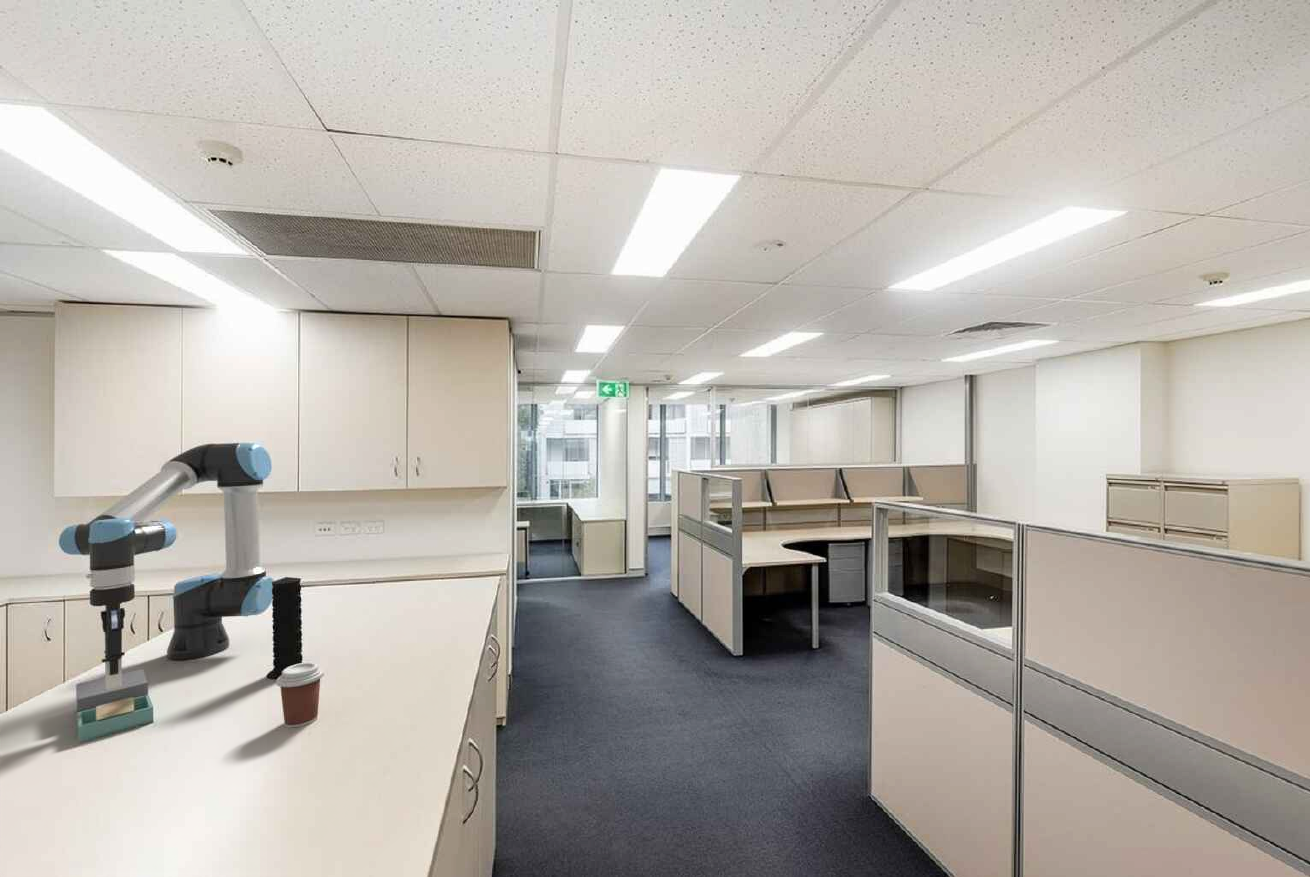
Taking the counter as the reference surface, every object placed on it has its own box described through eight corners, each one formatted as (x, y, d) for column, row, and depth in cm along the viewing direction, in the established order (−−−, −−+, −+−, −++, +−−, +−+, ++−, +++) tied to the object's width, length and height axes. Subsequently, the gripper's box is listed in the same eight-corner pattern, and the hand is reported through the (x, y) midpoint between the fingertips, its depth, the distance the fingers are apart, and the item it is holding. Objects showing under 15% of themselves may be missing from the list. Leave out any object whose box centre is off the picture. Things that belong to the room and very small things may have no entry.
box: (148, 709, 136) (148, 694, 136) (153, 722, 129) (153, 707, 129) (77, 728, 127) (77, 712, 127) (78, 743, 120) (78, 726, 121)
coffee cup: (333, 714, 131) (332, 662, 131) (297, 733, 122) (296, 678, 122) (304, 709, 134) (303, 658, 134) (267, 727, 125) (266, 673, 125)
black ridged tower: (257, 678, 153) (288, 680, 151) (255, 580, 154) (286, 581, 152) (287, 664, 163) (317, 666, 161) (286, 572, 163) (315, 573, 161)
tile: (133, 696, 128) (134, 710, 127) (131, 705, 131) (132, 718, 130) (96, 706, 124) (96, 719, 123) (95, 715, 127) (96, 728, 126)
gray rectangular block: (142, 692, 146) (142, 669, 146) (148, 707, 137) (147, 682, 137) (76, 708, 137) (76, 684, 137) (77, 725, 128) (77, 699, 128)
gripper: (88, 584, 133) (90, 684, 133) (90, 593, 124) (91, 700, 124) (132, 578, 139) (133, 674, 138) (136, 586, 130) (138, 689, 129)
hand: (113, 687), depth 131 cm, fingers closed
